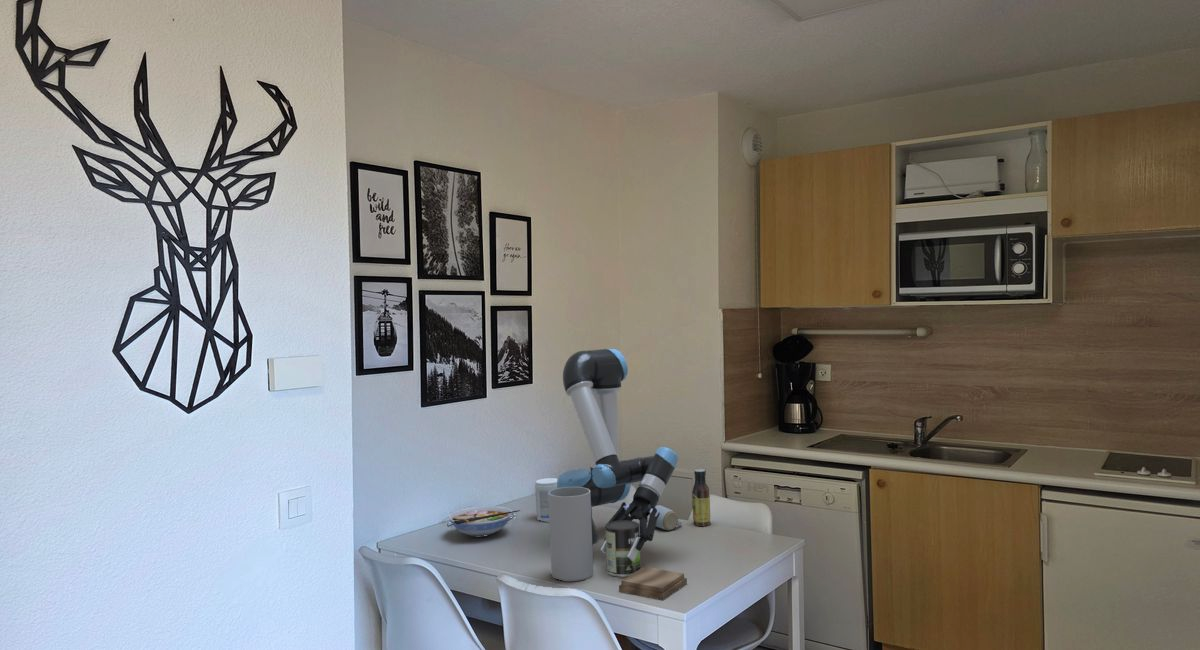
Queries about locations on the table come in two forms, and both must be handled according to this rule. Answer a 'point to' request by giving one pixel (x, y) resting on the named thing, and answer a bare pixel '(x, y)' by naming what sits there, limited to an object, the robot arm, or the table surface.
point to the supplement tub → (544, 497)
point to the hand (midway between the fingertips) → (616, 555)
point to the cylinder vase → (570, 533)
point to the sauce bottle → (701, 499)
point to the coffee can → (621, 547)
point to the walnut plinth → (653, 582)
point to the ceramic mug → (666, 518)
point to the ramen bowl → (480, 519)
